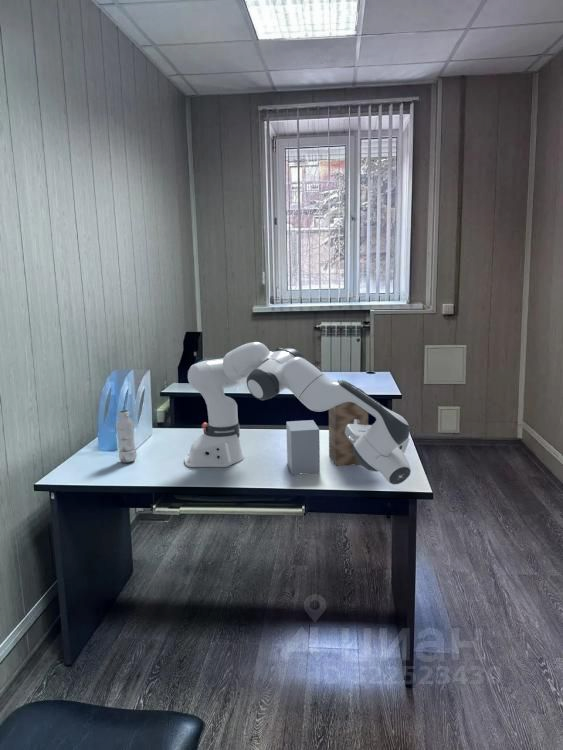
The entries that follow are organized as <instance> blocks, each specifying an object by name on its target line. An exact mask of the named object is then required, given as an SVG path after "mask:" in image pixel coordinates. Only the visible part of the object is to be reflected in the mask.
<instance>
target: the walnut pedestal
mask: <svg viewBox="0 0 563 750" xmlns="http://www.w3.org/2000/svg"><path fill="white" fill-rule="evenodd" d="M357 388H358V389H360V390H361V391H363V392H364V393H366V392H365V391H364V390H362V389H361V388H359V387H357ZM354 419H359V421H360V423H359V424H360V425H369V412H367V411H366V410H364V409H363V408H361V407H360V406H358V405H357V404H355V403H353V402H345V403H342V404H340V405H338V406H336V407H333V408H331V409H329V410H328V456H329V457H330V459H331V461H332V462H333V464H334V466H335V467H346V466H358V465H359V466H360V465H361V464H360V463H359V462H358V461H357V459H356V457H355V455H354V452H353V443H351V442H350V440H349V439H348V438H347V436H346V435H345V429H346V426H347V425H348V424H353V422H354ZM361 466H362V465H361Z"/></svg>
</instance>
